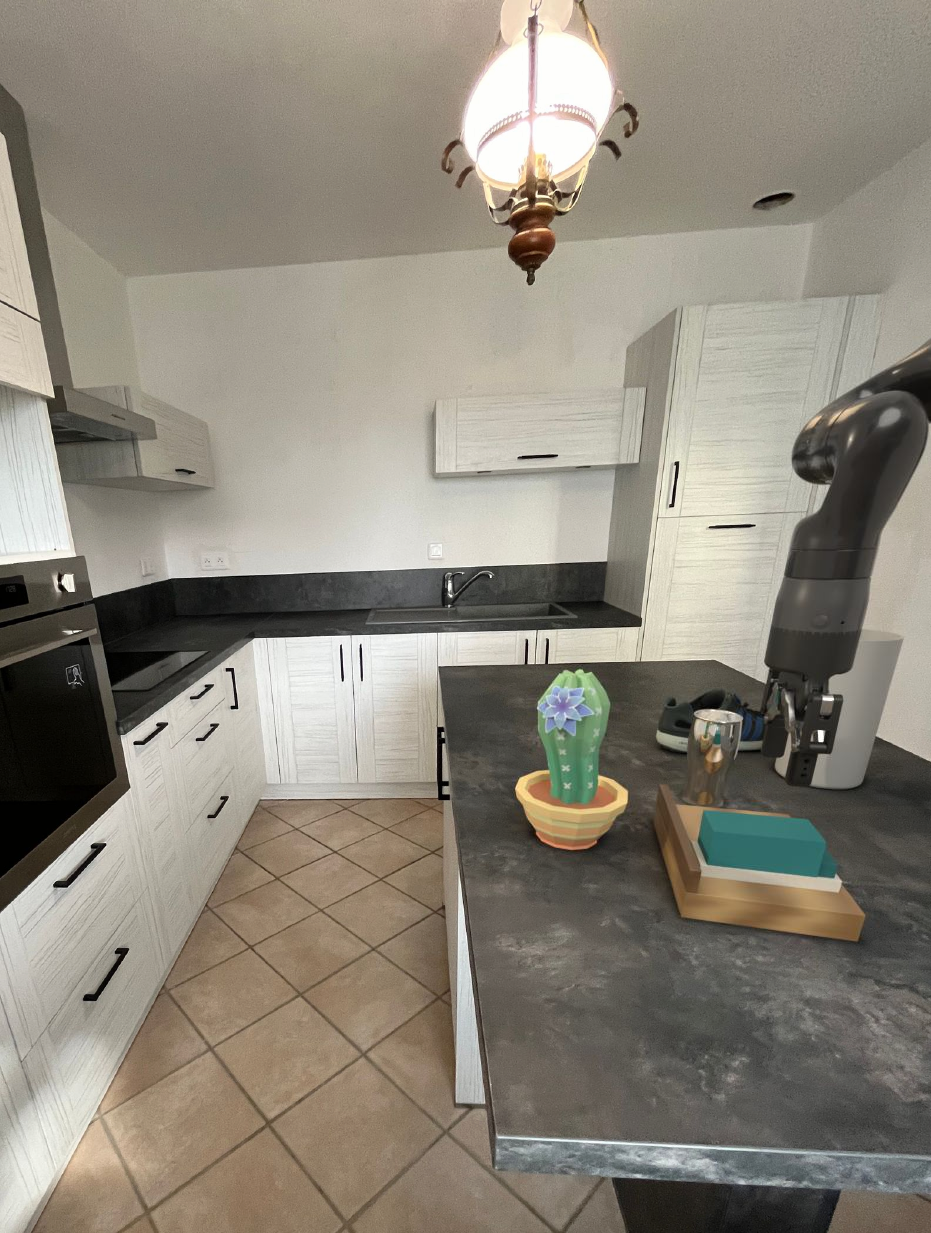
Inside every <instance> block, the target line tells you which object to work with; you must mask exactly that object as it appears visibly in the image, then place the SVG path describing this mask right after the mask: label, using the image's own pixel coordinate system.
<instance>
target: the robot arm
mask: <svg viewBox="0 0 931 1233" xmlns="http://www.w3.org/2000/svg"><path fill="white" fill-rule="evenodd" d="M930 425H931V337H930V338H929V339H928V340H927V341H925V342H924V343H923V344H921V345H920V346H919V347H918V348H917V349H916V350H914V351H913V352H911V353H910V354H908V355H907V356H905V357H903V358H902V359H900V360H899V361H897V362H895V363H894V364H892V365H890V366H889V367H887V368H885V369H883V370H882V371H879V372H878V373H877V374H875V375H873V376H871V377H869V378H867V379H866V380H864V381H862V383H860V384H858V385H856V386H855V387H853V388H852V389H850V390H848V391H847V392H845V393H843V394H842V395H840V396H839V397H837V398H836V399H834V400H833V401H831V402H829V403H828V404H827V405H826V406H824V407H823V408H821V410H819V411H818V412H817V413H815V415H813V416H812V417H811V418H810V419H809V420H808V421H807V422H806V424H805V425H804V426H803V427H802V429H801V430H800V431H799V433H798V434H797V437H796V438H795V440H794V443H793V445H792V448H791V455H790V461H791V462H790V463H791V467H792V469H793V471H794V473H795V474H796V476H797V477H798V478H800V479H801V480H802V481H804V482H806V483H808V484H812V485H817V486H829V487H828V489H827V492H826V494H825V496H824V499H823V501H822V503H821V505H820V508H818V509H817V510H816V511H815V512H814V513H811V514H809V515H806V516H805V517H803V518H800V520H799V521H798V522H797V523H796V524H795V526H794V528H793V531H792V534H791V537H790V541H789V547H788V551H787V557H786V558H787V559H786V562H785V568H784V571H783V572H784V573H783V577H782V580H781V583H780V586H779V590H778V592H777V595H776V599H775V602H774V606H773V607H774V608H773V612H772V618H771V624H770V627H769V633H768V637H767V638H768V639H767V644H766V650H765V654H764V661H763V662H764V665H765V666H767V668H769V669H768V673H767V678H766V683H765V687H764V692H763V696H762V697H763V698H762V701H761V704H760V709H759V711H761V714H765V716H764V723H765V724H768V725H766V728H765V733H764V738H763V742H762V747H761V749H760V754H761V755H762V756H763V757H765V758H774V759H775V758H776V759H777V758H780V757H783V756H784V753H785V748H786V744H787V739H788V735H789V733H790V734H791V749H792V751H791V752H790V757H789V761H788V766H787V770H786V775H785V777H784V782H785V783H786V785H788V786H790V787H799V788H808V787H811V786H810V785H811V783H812V778H813V774H814V770H815V766H816V762H817V758H818V754H831V753H832V750H833V746H834V741H835V736H836V732H837V727H838V723H839V718H840V714H841V709H842V704H843V696H842V695H841V694H830V692H829V679H830V678H831V677H832V676H834V675H836V674H838V675H840V674H844V673H847V672H849V671H850V670H851V669H852V667H853V664H854V659H855V655H856V651H857V647H858V643H859V639H860V635H861V631H862V629H863V626H864V623H865V620H866V615H867V611H868V607H869V602H870V594H871V584H872V583H871V582H872V576H873V573H874V569H875V565H876V561H877V557H878V553H879V549H880V548H879V547H880V545H881V539H882V534H883V531H884V530H885V528H886V526H887V524H888V522H889V521H890V519H891V517H892V516H893V514H894V512H895V511H896V510H897V508H898V506H899V504H900V502H901V499H902V498H903V496H904V494H905V493H906V490H907V488H908V486H909V485H910V482H911V480H912V479H913V477H914V475H915V473H916V471H917V469H918V467H919V465H920V463H921V462H922V461H921V460H922V458H923V456H924V453H925V452H926V451H925V450H926V448H927V445H928V441H929V435H930ZM823 731H825V735H824V736H823ZM801 732H802V733H801ZM812 735H813V741H811V736H812Z"/></svg>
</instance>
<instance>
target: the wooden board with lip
mask: <svg viewBox="0 0 931 1233" xmlns="http://www.w3.org/2000/svg"><path fill="white" fill-rule="evenodd" d="M656 796H657V797H656V803H655V808H654V809H655V810H654V816H653V826H654V829H655V832H656V836H657V839H658V843H659V847H660V850H661V853H662V856H663V859H664V863H665V867H666V870H667V873H668V877H669V880H670V883H671V887H672V890H673V894H674V897H675V901H676V904H677V907H678V911H679V913H680V917H681V918H686V919H692V920H699V921H706V922H715V923H723V924H728V925H736V926H742V927H748V928H749V927H750V928H757V929H765V930H772V931H779V932H784V933H785V932H786V933H792V934H793V933H794V934H801V935H808V936H813V937H814V936H815V937H823V938H829V939H836V940H845V941H850V942H851V941H852V942H859V938H860V935H861V932H862V929H863V927H864V922H865V921H866V920H865V919H866V914H865V913H864V911H863V910H862V909H861V907H860V906H859V905H858V904H857V902H856V900H854V898H853V897H852V895H851V894H850V893H849V891H848V890H847V889H846V887H845V886H844V885H843V884H841V887H840V891H839V893H837V892H828V891H820V890H812V889H803V888H795V887H786V886H778V885H770V884H761V883H753V882H744V881H736V880H728V879H719V878H711V877H703V876H701V873H702V871H701V868H700V866H699V863H698V860H697V858H696V855H695V853H694V850H693V848H692V845H691V841H698V836H699V831H700V825H701V820H702V815H703V810H710V811H721V812H732V813H743V814H754V815H765V816H776V817H787V818H792V816H791V815H790V814H789V813H788V814H787V813H777V812H765V811H754V810H743V809H733V808H732V809H731V808H724V807H723V808H721V807H718V808H711V807H700V806H694V805H690V804H689V805H687V804H677V803H676V802H675V800H674V797H673V794H672V791H671V789H670V786H669V785H668V784H662V783H661V784H659V785H658V790H657V795H656Z"/></svg>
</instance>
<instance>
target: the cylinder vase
mask: <svg viewBox="0 0 931 1233" xmlns="http://www.w3.org/2000/svg"><path fill="white" fill-rule="evenodd" d="M904 639H905V636H904V635H902V634H900V633H896V632H891V631H886V630H878V629H871V628H862V631H861V635H860V639H859V643H858V647H857V651H856V655H855V659H854V664H853V667H852V669H851V670H850V671H849V672H847V673H844V674H840V675H838V674H836V675H834V676H832V677H831V678H830V679H829V692H830V694H841V695H842V696H843V704H842V709H841V714H840V718H839V723H838V727H837V732H836V736H835V741H834V746H833V750H832V753H831V754H818V758H817V762H816V766H815V770H814V774H813V778H812V783H811V785H810V786H809V787H810V788H811V787H812V788H817V789H824V790H849V789H855V788H857V787H859V786H860V785H862V783H863V782H864V778H865V775H866V771H867V768H868V765H869V761H870V757H871V754H872V751H873V748H874V743H875V740H876V737H877V733H878V730H879V726H880V724H881V720H882V716H883V712H884V709H885V706H886V702H887V699H888V695H889V692H890V687H891V685H892V681H893V678H894V674H895V670H896V667H897V664H898V660H899V656H900V653H901V649H902V646H903V643H904ZM801 733H802V732H801ZM824 735H825V731H823V736H824ZM811 741H813V735H812V736H811ZM791 751H792V749H791V734H790V733H789V735H788V739H787V744H786V748H785V753H784V756H783V757H780V758H776V759H775V763H774V769H775V771H776V772H777V774H779V775H780V776H782V777H783V778H785V775H786V770H787V766H788V761H789V757H790V752H791Z"/></svg>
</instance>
